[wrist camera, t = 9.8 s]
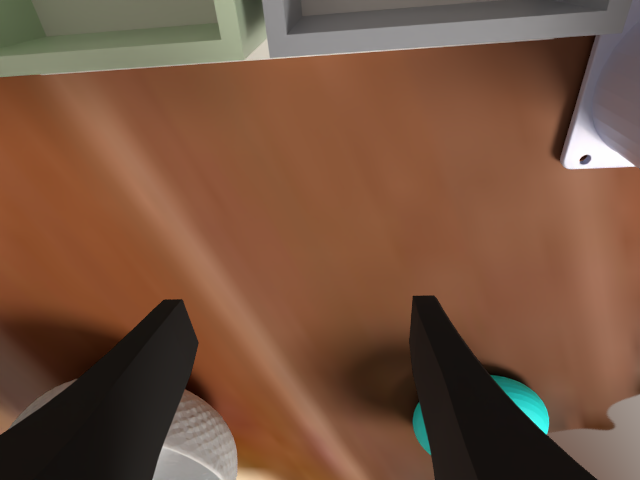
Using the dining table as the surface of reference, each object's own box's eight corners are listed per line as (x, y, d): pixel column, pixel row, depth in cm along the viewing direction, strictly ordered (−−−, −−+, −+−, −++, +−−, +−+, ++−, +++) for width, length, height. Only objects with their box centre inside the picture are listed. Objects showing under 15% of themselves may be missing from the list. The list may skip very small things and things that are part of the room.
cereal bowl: (100, 450, 40) (59, 532, 34) (14, 339, 31) (-64, 427, 25) (265, 452, 38) (250, 539, 33) (227, 336, 29) (197, 429, 23)
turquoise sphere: (490, 593, 28) (398, 550, 24) (458, 450, 36) (385, 402, 32) (639, 564, 23) (552, 506, 20) (563, 408, 32) (492, 347, 28)
